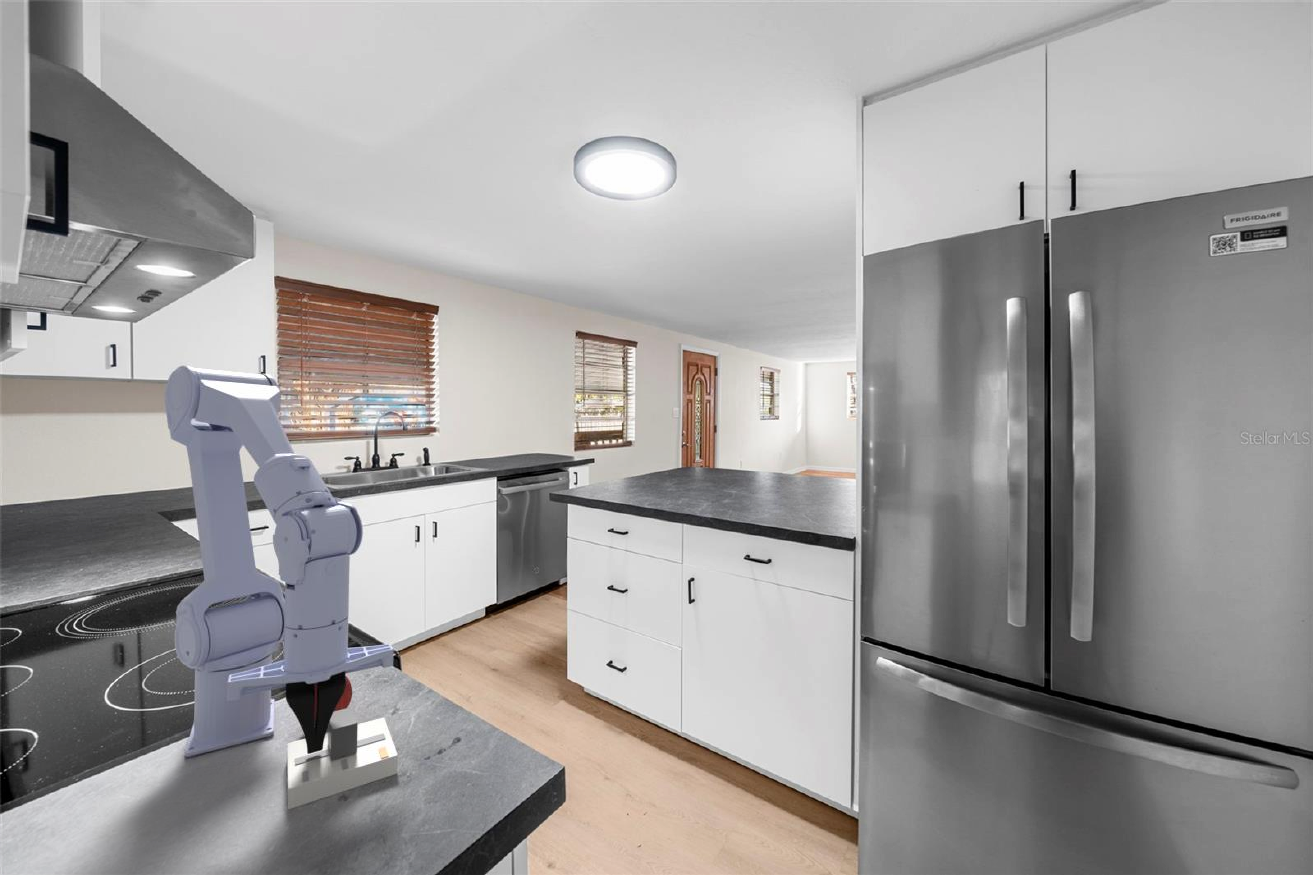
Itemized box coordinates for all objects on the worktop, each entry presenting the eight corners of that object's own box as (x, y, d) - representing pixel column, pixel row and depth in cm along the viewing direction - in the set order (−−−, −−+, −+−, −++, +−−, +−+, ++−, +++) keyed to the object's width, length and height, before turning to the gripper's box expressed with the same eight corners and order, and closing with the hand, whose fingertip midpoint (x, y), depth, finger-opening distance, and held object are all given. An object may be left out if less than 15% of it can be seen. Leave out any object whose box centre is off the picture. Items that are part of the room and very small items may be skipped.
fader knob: (327, 741, 58) (328, 713, 58) (352, 734, 59) (353, 706, 59) (330, 760, 54) (331, 730, 54) (356, 752, 56) (357, 722, 56)
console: (286, 761, 57) (287, 742, 57) (383, 733, 63) (384, 716, 63) (287, 809, 50) (288, 788, 50) (397, 773, 56) (397, 754, 56)
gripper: (225, 647, 48) (222, 795, 48) (399, 618, 56) (396, 743, 56) (231, 624, 53) (228, 756, 53) (388, 600, 62) (386, 714, 62)
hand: (314, 747), depth 55 cm, fingers closed
